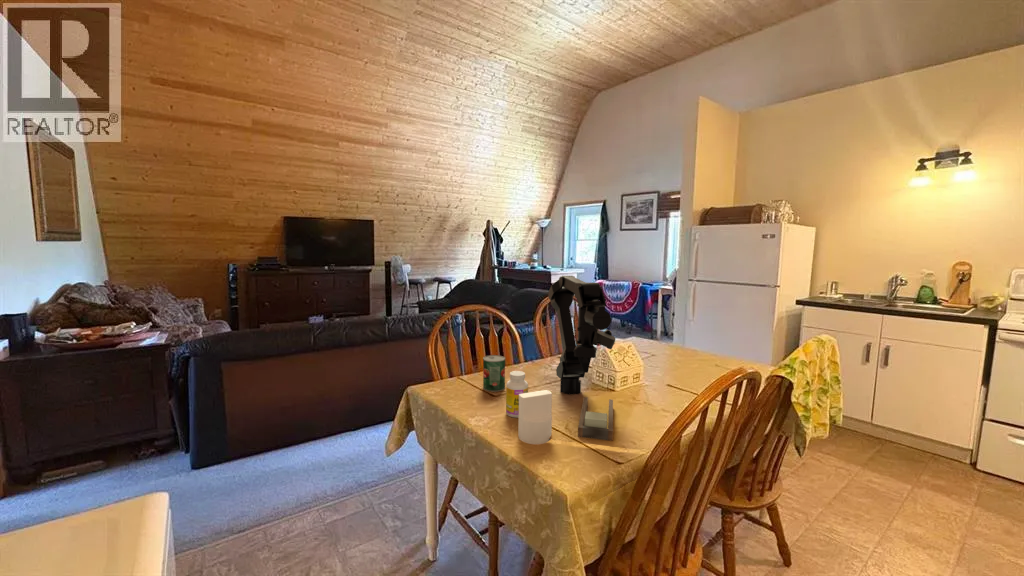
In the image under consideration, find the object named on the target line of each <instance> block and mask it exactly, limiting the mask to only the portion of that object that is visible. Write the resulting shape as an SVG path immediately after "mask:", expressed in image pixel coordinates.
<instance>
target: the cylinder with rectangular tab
mask: <svg viewBox="0 0 1024 576" xmlns="http://www.w3.org/2000/svg"><path fill="white" fill-rule="evenodd" d="M552 403H553V393H552V392H551V391H550V390H549V389H541V390H536V391H530V392H529V391H528V393H523V394H519V418H518V422H517V423H518V427H517V428H518V433H517V434H518V440H520V441H521V442H523V443H526V444H529V445H543V444H546V443H549V442H550V441H551V440H552V438H551V437H552V430H553V429H552V427H553V425H552V424H553V415H552V414H553V412H552V407H553V406H552V405H553V404H552Z"/></svg>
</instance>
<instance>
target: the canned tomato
mask: <svg viewBox="0 0 1024 576" xmlns="http://www.w3.org/2000/svg"><path fill="white" fill-rule="evenodd" d="M482 361H483V362H482V366H483V368H482V370H483V371H482V374H483V376H482V377H483V378H482V380H483V382H482V383H483V384H482V385H483V386H482V387H483V390H484V391H486V392H490V391H491V392H493V393H495V392H502V391H504V390H505V389H506V357H505V356H502V355H498V354H497V355H496V354H491V355H490V354H489V355H485V356H483V357H482Z"/></svg>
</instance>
